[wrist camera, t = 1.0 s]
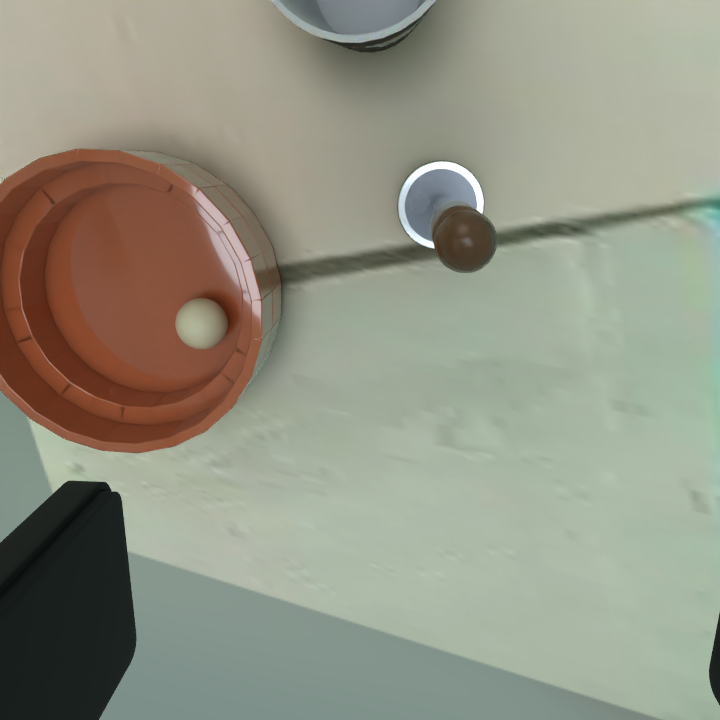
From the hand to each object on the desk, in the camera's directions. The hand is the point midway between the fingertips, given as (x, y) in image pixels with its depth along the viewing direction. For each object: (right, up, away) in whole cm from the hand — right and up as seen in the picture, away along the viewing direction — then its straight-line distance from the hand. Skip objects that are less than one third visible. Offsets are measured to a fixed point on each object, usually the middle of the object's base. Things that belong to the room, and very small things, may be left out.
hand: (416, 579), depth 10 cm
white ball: (-10, +6, +30) cm, 32 cm away
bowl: (-14, +8, +30) cm, 34 cm away
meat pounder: (+4, +12, +28) cm, 31 cm away
